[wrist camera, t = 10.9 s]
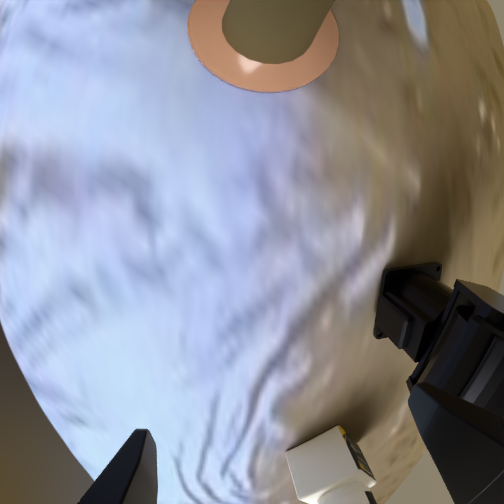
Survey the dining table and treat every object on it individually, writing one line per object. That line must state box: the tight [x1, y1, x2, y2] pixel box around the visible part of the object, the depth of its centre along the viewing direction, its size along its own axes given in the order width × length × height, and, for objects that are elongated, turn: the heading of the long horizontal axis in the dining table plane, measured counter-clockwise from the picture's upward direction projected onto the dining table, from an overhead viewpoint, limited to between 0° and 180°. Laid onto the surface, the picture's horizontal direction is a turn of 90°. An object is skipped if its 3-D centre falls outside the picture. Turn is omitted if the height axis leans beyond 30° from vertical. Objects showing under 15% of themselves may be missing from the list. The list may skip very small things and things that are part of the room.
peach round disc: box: [188, 0, 339, 93], centre depth 15 cm, size 10×10×1 cm
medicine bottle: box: [286, 425, 377, 504], centre depth 23 cm, size 7×7×12 cm
